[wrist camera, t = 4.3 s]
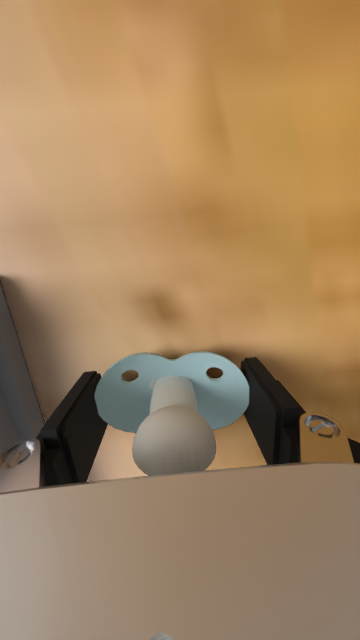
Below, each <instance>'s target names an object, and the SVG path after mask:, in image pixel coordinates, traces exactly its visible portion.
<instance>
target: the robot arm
mask: <svg viewBox="0 0 360 640" xmlns="http://www.w3.org/2000/svg"><path fill="white" fill-rule="evenodd" d="M241 372H242V373H243V375H244V376H245V378H246V380H247V383H248V385H249V404H248V407H247V409H246V410H245V412H244V415H245V417H246V419H247V422H248V424H249V426H250V428H251V430H252V432H253V434H254V437H255V439H256V441H257V443H258V445H259V447H260V450H261V452H262V454H263V456H264V458H265V460H266V462H267V465H262V466H250V467H239V468H228V469H217V470H206V471H195V472H184V473H174V474H163V475H153V476H143V477H132V478H122V479H113V480H103V481H93V482H86V481H87V478H88V475H89V473H90V470H91V467H92V465H93V462H94V459H95V457H96V454H97V452H98V449H99V446H100V444H101V441H102V438H103V436H104V433H105V430H106V428H107V425H108V423H107V422H105V421H104V420H103V419H102V418H101V417H100V416H99V414H98V409H97V405H96V401H95V398H94V397H95V391H96V387H97V385H98V383H99V381H100V379H101V375H100V373H98V374H97V372H96V371H90V372H84V373H83V374H82V376H81V377H80V378H79V380H78V381H77V382H76V384H75V385H74V386H73V388H72V389H71V390H70V392H69V393H68V394H67V395H66V397H65V398H64V399H63V401H62V402H61V403H60V405H59V406H58V407H57V409H56V410H55V411H54V413H53V414H52V415H51V417H50V418H49V419H48V421H47V422H46V423H45V425H44V426H43V427H42V429H41V430H40V433H39V434H38V435H37V437H36V438H26V439H23V440H20V441H17V442H15V443H13V444H11V445H10V446H8V447H7V448H5V449H4V450H3V451H2V452H1V453H0V640H360V443H358V442H356V441H354V440H351V439H349V438H347V435H346V432H345V430H344V428H343V426H342V425H341V424H340V423H339V422H337V421H336V420H335V419H333V418H331V417H329V416H327V415H324V414H321V413H315V412H309V413H306V412H305V411H304V410H303V408H302V407H301V406H300V405H299V404H298V403H297V402H296V400H295V399H294V398H293V397H292V396H291V395H290V393H289V392H288V391H287V390H286V389H285V388H284V387H283V385H282V384H281V383H280V382H279V381H278V380H275V379H274V377H273V376H272V375H271V374H270V373H269V372H268V370H267V369H266V368H265V367H264V366H263V365H262V363H261V362H260V361H259V360H258V359H257V358H256V357H253V358H245V360H244V361H242V362H241Z"/></svg>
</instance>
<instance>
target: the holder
mask: <svg viewBox="0 0 360 640" xmlns="http://www.w3.org/2000/svg"><path fill="white" fill-rule="evenodd" d="M44 425H45V424H44V421H43V417H42V414H41V411H40V408H39V405H38V401H37V398H36V395H35V392H34V389H33V386H32V382H31V379H30V376H29V373H28V370H27V367H26V363H25V360H24V357H23V354H22V351H21V347H20V344H19V341H18V338H17V335H16V332H15V328H14V325H13V322H12V319H11V316H10V312H9V309H8V306H7V303H6V300H5V297H4V293H3V290H2V287H1V284H0V453H1V452H2V451H3V450H4V449H5V448H7V447H8V446H10V445H11V444H13V443H15V442H17V441H20V440H23V439H26V438H36V437H37V435H38V434H39V433H40V430H41V429H42V427H43V426H44Z"/></svg>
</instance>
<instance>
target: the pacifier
mask: <svg viewBox="0 0 360 640" xmlns="http://www.w3.org/2000/svg"><path fill="white" fill-rule="evenodd" d="M211 367H216V368H219V369H221V370H222V371H223V375H222V376H221V377H220V378H211V377H209V376H208V375H207V374H206V371H207V370H208V369H209V368H211ZM128 370H135V371H137V372H138V374H139V376H138V378H137V379H135V380H133V381H125V380H123V379H122V377H121V376H122V374H123V373H124V372H125V371H128ZM94 398H95V401H96V405H97V409H98V414H99V416H100V417H101V418H102V419H103V420H104V421H105V422H107V423H108V424H109V425H111V426H112V427H114V428H115V429H119V430H123V431H126V432H133V433H136V434H135V437H134V442H133V450H132V451H133V458H134V461H135V463H136V465H137V466H138V468H139V469H141V470H142V471H143V472H144V473H145V474H147V475H149V476H153V475H163V474H174V473H184V472H195V471H204V470H205V469H206V468H207V467H208V466H209V465H210V464H211V463H212V461H213V459H214V457H215V454H216V441H215V437H214V433H213V431H212V430H214V429H218V428H222V427H225V426H227V425H230V424H232V423H233V422H235V421H236V420H237V419H238V418H239V417H240V416H241V415H243V413H244V412H245V410H246V409H247V407H248V404H249V385H248V383H247V380H246V378H245V376H244V375H243V373H242V372H241V370H240V369H239V368H238V367H237V366H236V365H235V364H234V363H233V362H232V361H231V360H229V359H227V358H226V357H224V356H222V355H219V354H217V353H213V352H207V351H198V352H192V353H188V354H185V355H183V356H181V357H180V358H177V359H168V358H166V357H164V356H162V355H159V354H154V353H136V354H132V355H129V356H127V357H124V358H122V359H120V360H119V361H117V362H116V363H114V364H113V365H112V366H111V367H110V368H109V369H108V370H107V371H106V372H105V373H104V375H103V376H102V378H101V379H100V381H99V383H98V385H97V387H96V391H95V397H94Z"/></svg>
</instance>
